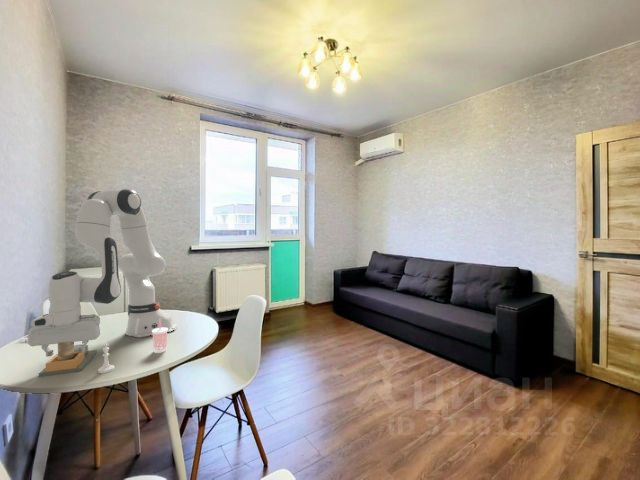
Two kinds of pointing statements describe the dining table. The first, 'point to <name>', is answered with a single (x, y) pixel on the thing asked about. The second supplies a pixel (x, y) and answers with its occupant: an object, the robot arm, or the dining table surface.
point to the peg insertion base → (68, 362)
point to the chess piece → (106, 361)
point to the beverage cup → (160, 338)
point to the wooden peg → (65, 351)
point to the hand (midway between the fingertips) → (66, 353)
